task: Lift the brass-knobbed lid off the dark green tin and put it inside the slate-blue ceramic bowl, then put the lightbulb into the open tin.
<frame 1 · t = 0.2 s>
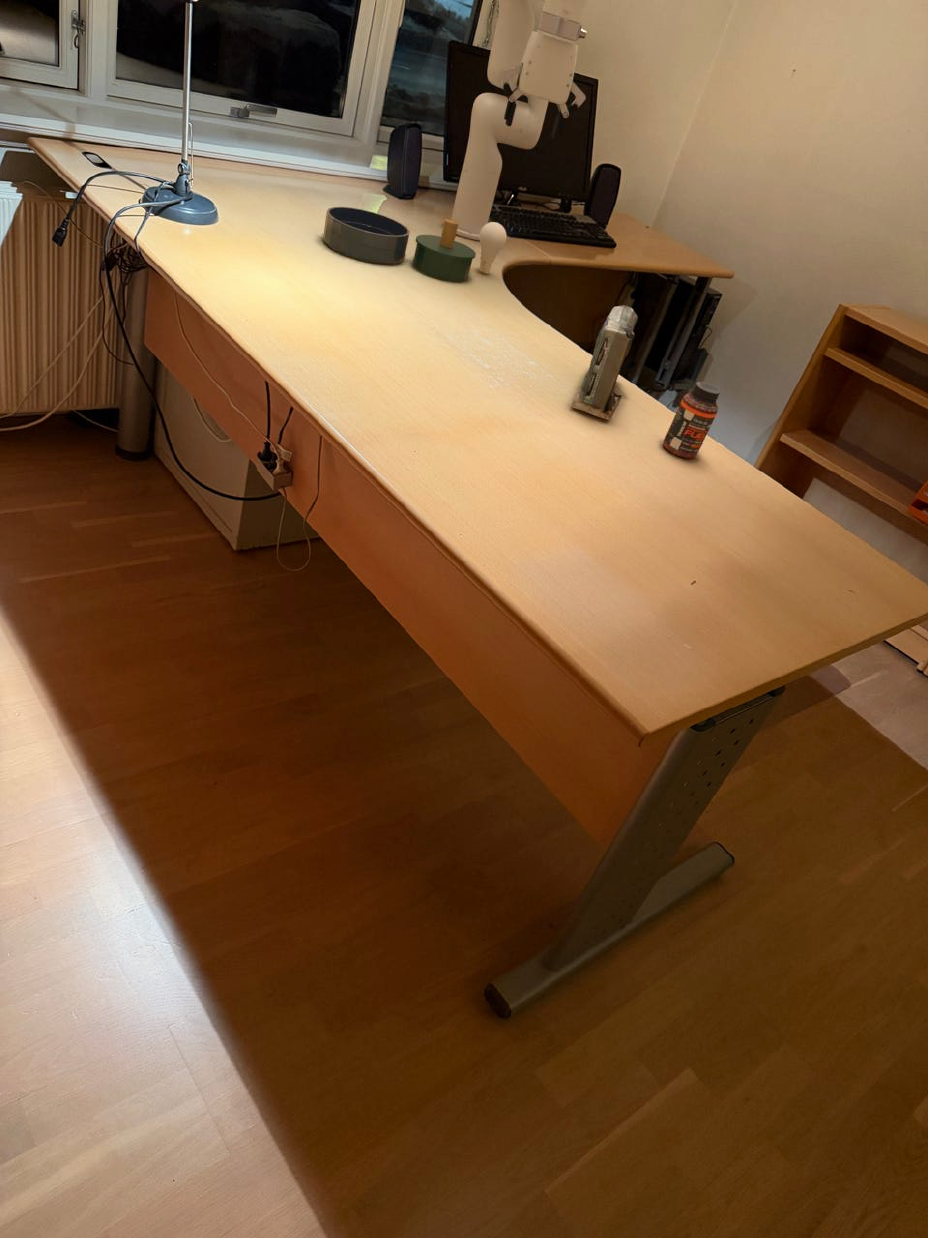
hand: (531, 131, 165), 31 cm above the table, tool pointing down, fingers open, 9 cm apart
tin lid: (445, 247, 181), point 5 cm above the table, touching tin
lightbulb: (483, 273, 192), on the table
tin: (440, 271, 184), on the table
supplement bottle: (678, 451, 138), on the table
bowl: (363, 249, 181), on the table
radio: (593, 395, 148), on the table
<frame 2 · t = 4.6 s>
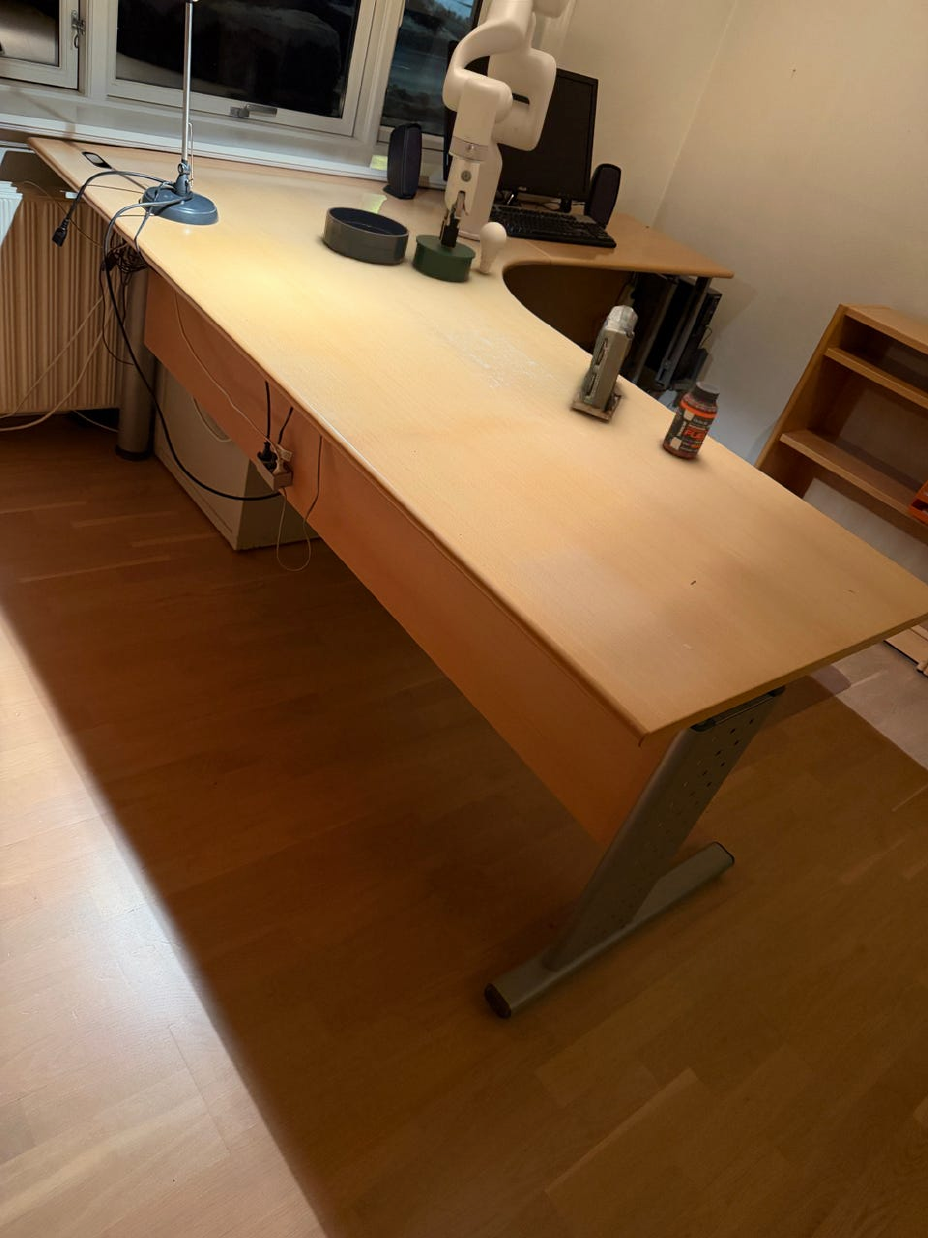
hand: (446, 242, 180), 6 cm above the table, tool pointing down, fingers closed on tin lid, 3 cm apart
tin lid: (445, 247, 181), point 5 cm above the table, touching gripper, tin
everything else where it was.
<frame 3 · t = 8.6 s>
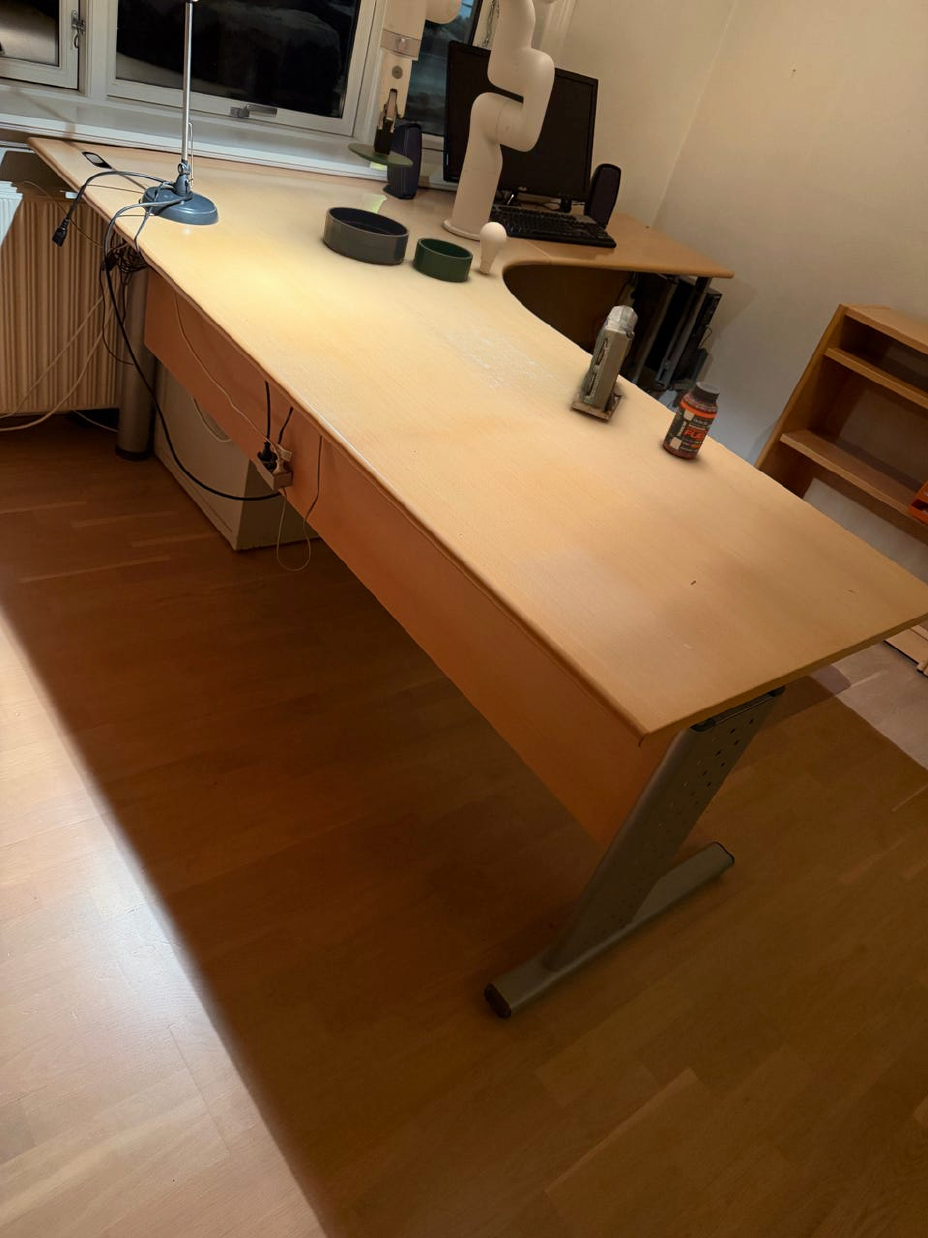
hand: (381, 150, 170), 20 cm above the table, tool pointing down, fingers closed on tin lid, 3 cm apart
tin lid: (380, 156, 170), point 19 cm above the table, touching gripper
everything else where it was.
when the fingers open (2 cm above the table, at t = 12.7 s): tin lid stays where it is, resting on bowl.
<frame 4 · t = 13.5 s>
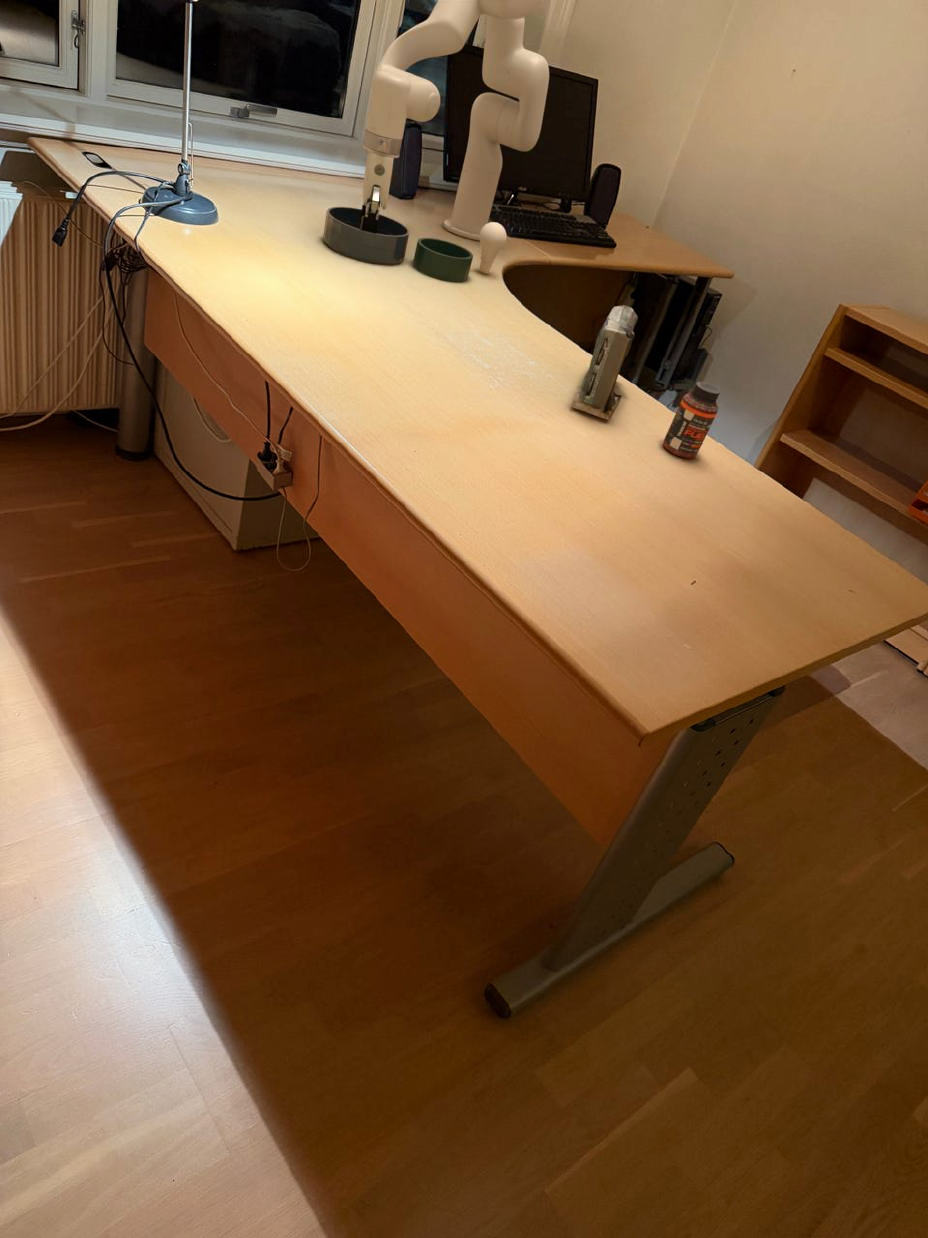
hand: (367, 231, 179), 4 cm above the table, tool pointing down, fingers open, 9 cm apart
tin lid: (364, 244, 181), point 1 cm above the table, touching bowl
everything else where it was.
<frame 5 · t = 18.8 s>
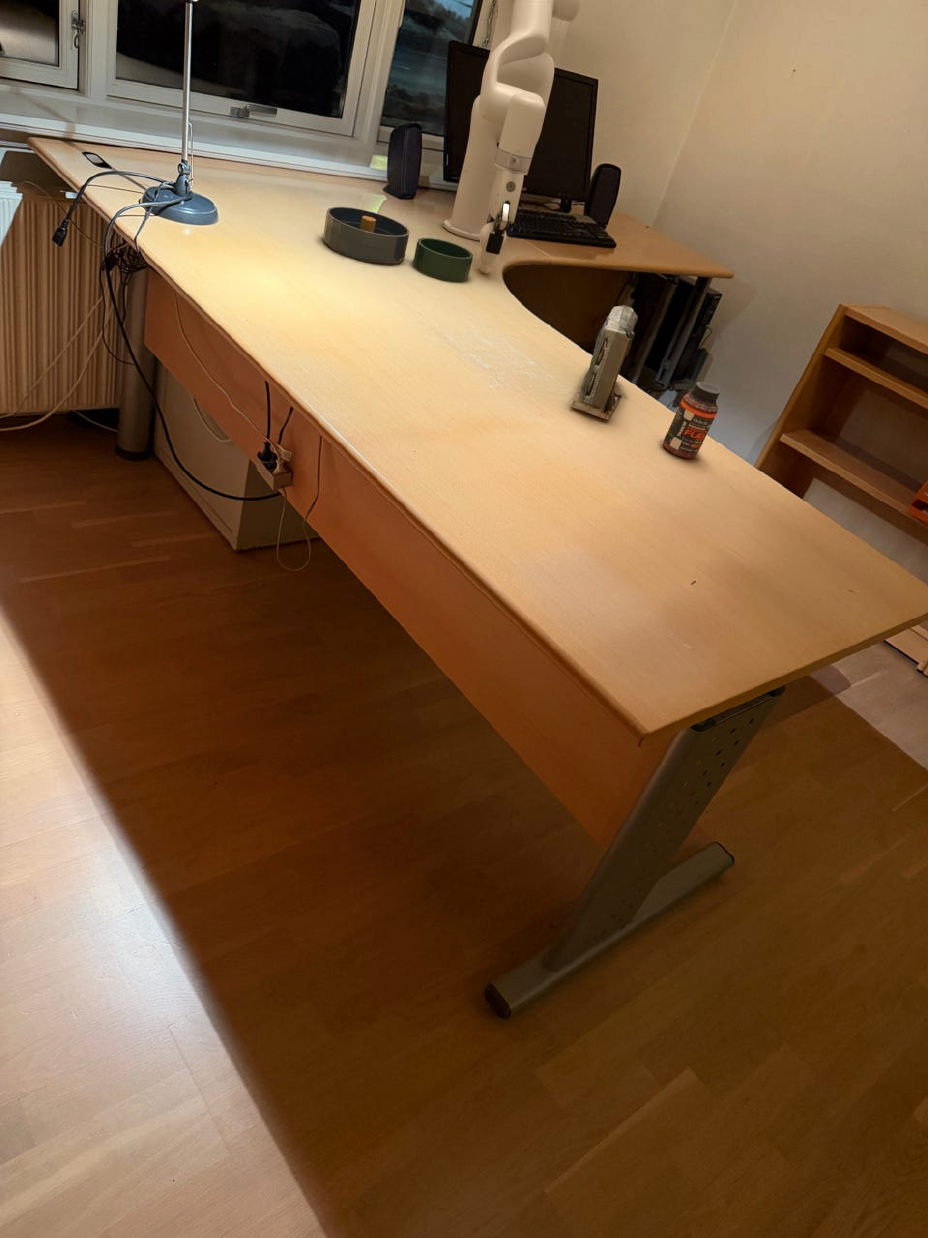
hand: (490, 247, 188), 6 cm above the table, tool pointing down, fingers closed on lightbulb, 6 cm apart
lightbulb: (483, 273, 192), on the table, touching gripper
everything else where it was.
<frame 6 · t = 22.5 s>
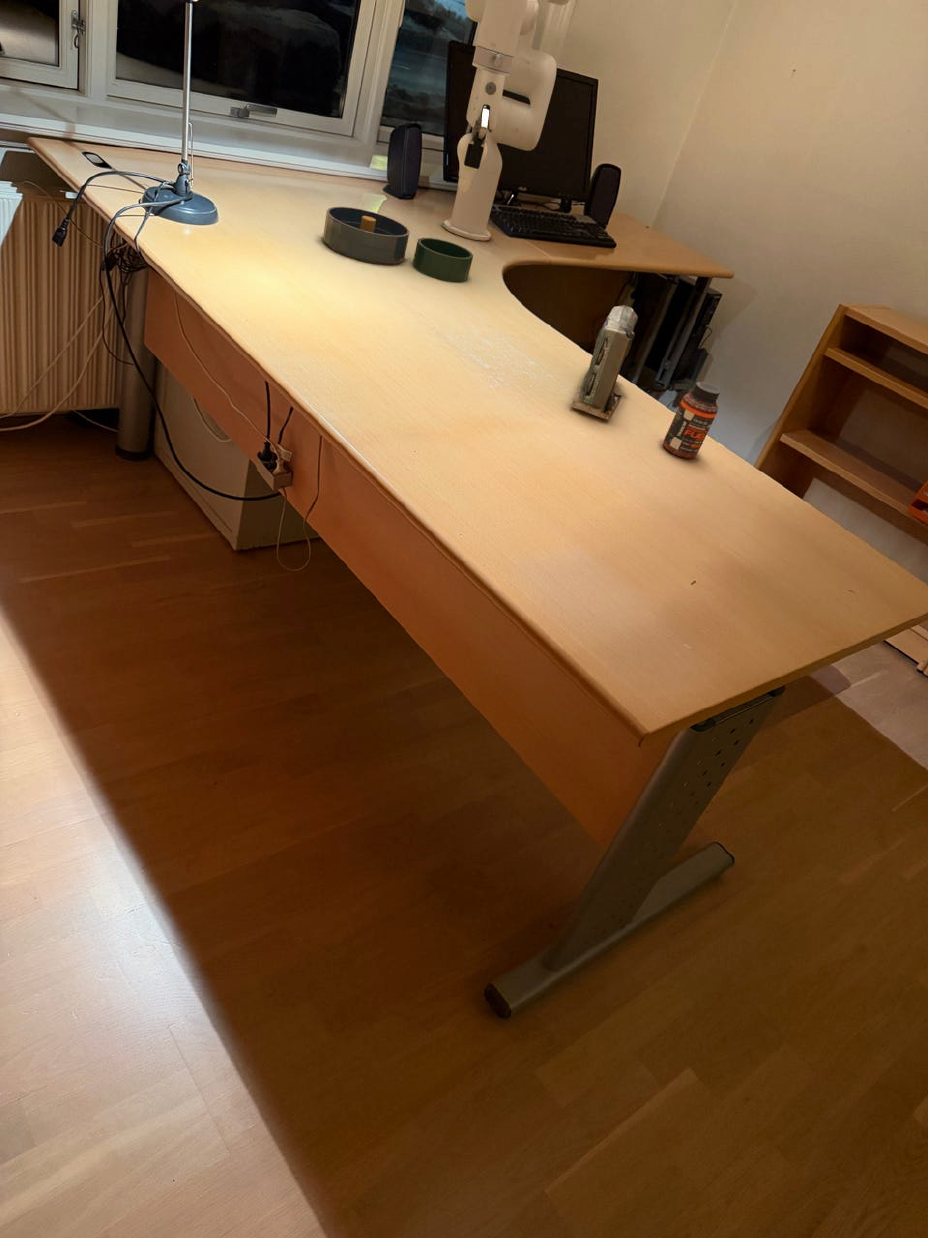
hand: (469, 162, 171), 22 cm above the table, tool pointing down, fingers closed on lightbulb, 6 cm apart
lightbulb: (462, 192, 175), point 16 cm above the table, touching gripper
everything else where it was.
when the fingers open (6 cm above the table, at t = 26.5 s): lightbulb stays where it is, resting on tin.
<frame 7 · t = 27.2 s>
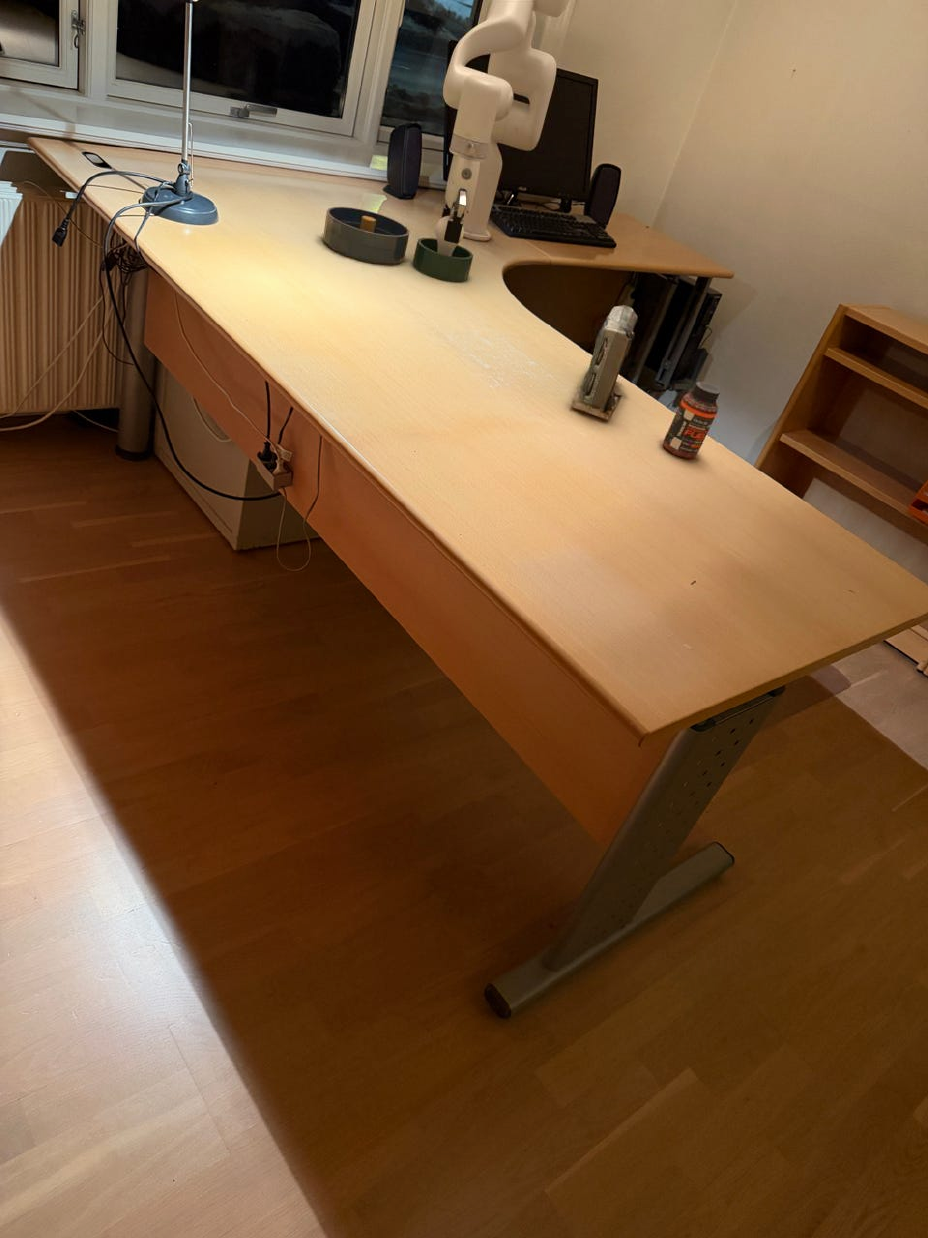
hand: (448, 235, 179), 8 cm above the table, tool pointing down, fingers open, 9 cm apart
lightbulb: (440, 269, 184), resting on tin
everything else where it was.
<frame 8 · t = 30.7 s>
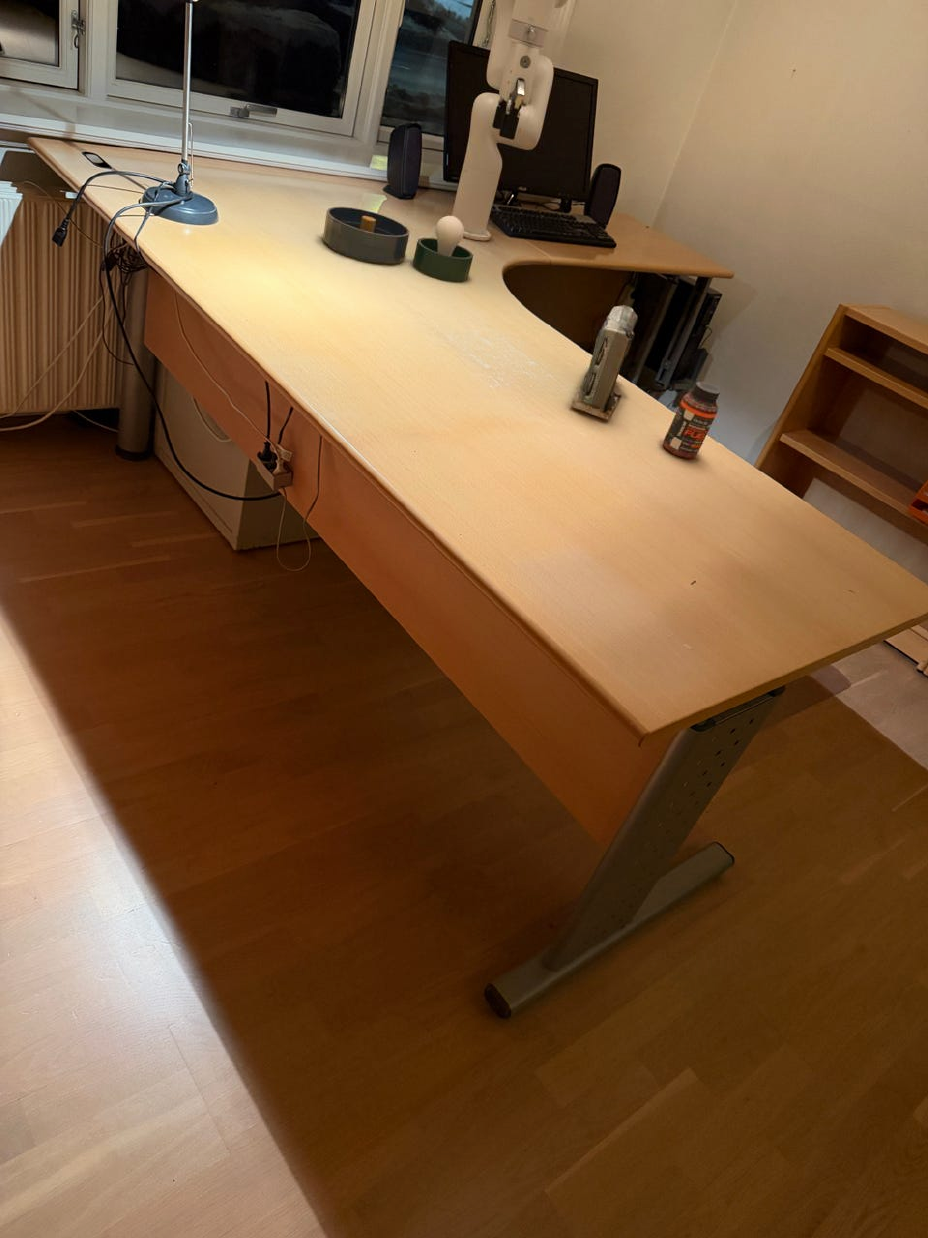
hand: (502, 133, 173), 28 cm above the table, tool pointing down, fingers open, 9 cm apart
nothing on the table moved.
at the end: tin lid 0.1 cm off-centre in the bowl, point 1.1 cm above the bowl's base; lightbulb inside the target area in the tin (0.1 cm from its centre), point 0.3 cm above the tin's base; lightbulb tilted 0° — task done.
